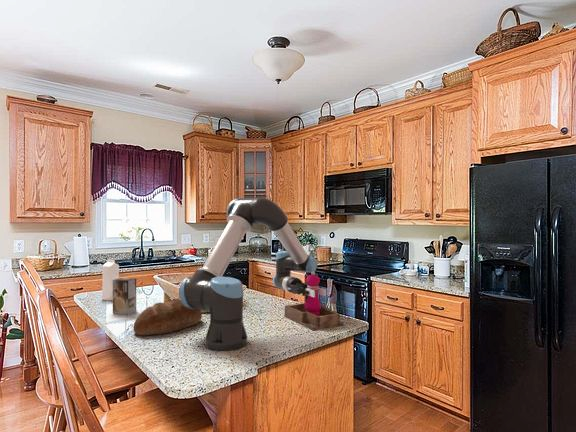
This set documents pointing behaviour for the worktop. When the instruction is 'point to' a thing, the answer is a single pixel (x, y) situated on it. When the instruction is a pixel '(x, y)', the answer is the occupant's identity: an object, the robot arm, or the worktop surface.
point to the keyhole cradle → (313, 317)
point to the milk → (109, 278)
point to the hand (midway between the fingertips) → (319, 293)
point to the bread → (166, 318)
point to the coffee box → (124, 296)
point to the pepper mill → (313, 302)
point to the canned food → (166, 297)
